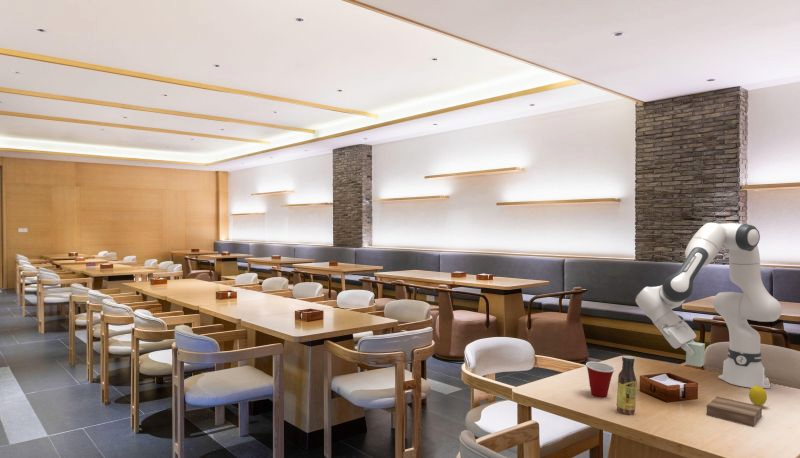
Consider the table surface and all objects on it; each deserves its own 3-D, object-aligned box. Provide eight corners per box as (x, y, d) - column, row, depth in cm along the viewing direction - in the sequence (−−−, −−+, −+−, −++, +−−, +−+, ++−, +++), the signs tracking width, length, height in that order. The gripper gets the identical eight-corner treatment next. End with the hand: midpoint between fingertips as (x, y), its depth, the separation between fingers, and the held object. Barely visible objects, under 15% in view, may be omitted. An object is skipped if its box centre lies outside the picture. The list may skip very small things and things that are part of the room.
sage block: (689, 361, 196) (690, 341, 196) (704, 364, 193) (704, 343, 193) (685, 364, 193) (686, 343, 193) (700, 366, 189) (701, 345, 189)
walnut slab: (716, 406, 190) (716, 396, 190) (761, 417, 180) (761, 406, 180) (706, 416, 180) (706, 405, 180) (753, 428, 171) (753, 416, 171)
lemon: (769, 409, 187) (770, 388, 187) (752, 408, 188) (753, 387, 188) (762, 404, 193) (762, 383, 192) (745, 403, 194) (746, 382, 194)
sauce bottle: (627, 416, 177) (629, 360, 177) (612, 410, 183) (614, 356, 183) (639, 413, 180) (641, 358, 180) (624, 407, 186) (626, 354, 186)
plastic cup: (604, 402, 191) (605, 371, 191) (579, 394, 200) (580, 364, 200) (619, 397, 198) (620, 366, 197) (595, 389, 206) (595, 360, 206)
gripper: (666, 322, 190) (694, 352, 184) (683, 315, 205) (709, 344, 198) (653, 331, 194) (680, 362, 187) (670, 324, 208) (696, 353, 201)
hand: (695, 352), depth 192 cm, fingers closed on sage block, 5 cm apart
